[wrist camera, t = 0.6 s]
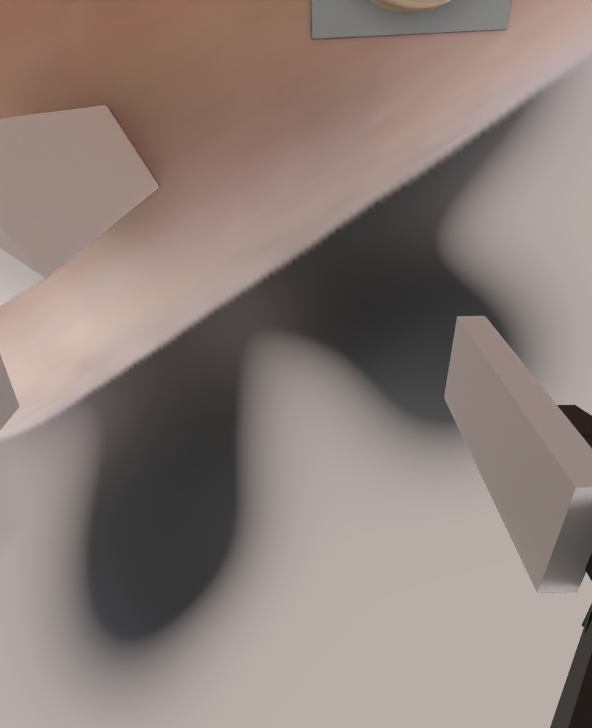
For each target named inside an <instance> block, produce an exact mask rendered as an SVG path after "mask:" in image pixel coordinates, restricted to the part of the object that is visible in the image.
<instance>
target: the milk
mask: <svg viewBox="0 0 592 728" xmlns="http://www.w3.org/2000/svg"><path fill="white" fill-rule="evenodd" d="M158 188H159V185H158V184H157V182H156V181H155V179H154V178H153V176H152V175H151V173H150V171H149V170H148V168H147V167H146V165H145V164H144V162H143V161H142V159H141V158H140V156H139V155H138V153H137V152H136V150H135V148H134V147H133V145H132V144H131V142H130V141H129V139H128V138H127V136H126V135H125V133H124V132H123V130H122V128H121V127H120V125H119V124H118V122H117V121H116V119H115V118H114V116H113V115H112V113H111V112H110V110H109V108H108V107H107V106H106V105H101V106H93V107H85V108H78V109H70V110H62V111H54V112H46V113H38V114H30V115H23V116H15V117H7V118H0V306H2V305H3V304H5V303H7V302H8V301H10V300H12V299H13V298H15V297H17V296H18V295H20V294H22V293H23V292H25V291H27V290H28V289H30V288H32V287H33V286H35V285H37V284H38V283H40V282H42V281H43V280H45V279H46V278H48V277H49V276H50V275H51V274H53V273H54V272H55V271H56V270H58V269H59V268H60V267H61V266H62V265H64V264H65V263H66V262H67V261H69V260H70V259H71V258H72V257H74V256H75V255H76V254H77V253H79V252H80V251H81V250H82V249H84V248H85V247H86V246H87V245H89V244H90V243H91V242H92V241H94V240H95V239H96V238H97V237H98V236H100V235H101V234H102V233H103V232H105V231H106V230H107V229H108V228H110V227H111V226H112V225H113V224H115V223H116V222H117V221H118V220H120V219H121V218H122V217H123V216H125V215H126V214H127V213H128V212H130V211H131V210H132V209H133V208H134V207H136V206H137V205H138V204H139V203H141V202H142V201H143V200H144V199H146V198H147V197H148V196H149V195H151V194H152V193H153V192H154V191H156V190H157V189H158Z"/></svg>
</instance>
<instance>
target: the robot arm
mask: <svg viewBox="0 0 592 728" xmlns="http://www.w3.org/2000/svg"><path fill="white" fill-rule="evenodd" d="M444 398H445V400H446V402H447V405H448V407H449V409H450V411H451V413H452V415H453V417H454V419H455V421H456V423H457V426H458V428H459V430H460V432H461V434H462V436H463V438H464V440H465V443H466V445H467V447H468V449H469V451H470V453H471V455H472V457H473V459H474V461H475V463H476V466H477V468H478V470H479V472H480V474H481V476H482V478H483V480H484V482H485V484H486V487H487V488H488V491H489V493H490V495H491V497H492V499H493V501H494V503H495V505H496V508H497V510H498V512H499V514H500V516H501V518H502V520H503V522H504V524H505V526H506V528H507V530H508V533H509V535H510V537H511V539H512V541H513V543H514V545H515V547H516V549H517V552H518V554H519V556H520V558H521V560H522V562H523V564H524V566H525V568H526V570H527V572H528V574H529V577H530V579H531V581H532V583H533V585H534V587H535V589H536V591H537V593H563V592H564V593H566V592H578V589H579V587H580V585H581V582H582V580H583V578H584V575H585V573H586V572H587V574H588V575H589V577H590V579H591V580H592V416H591V415H590V414H588V413H587V412H585V411H583V410H582V409H580V408H579V407H577V406H576V405H556V403H555V402H554V401H553V400H552V399H551V397H550V396H549V395H548V394H547V392H546V391H545V390H544V389H543V387H542V386H541V385H540V384H539V382H538V381H537V380H536V379H535V377H534V376H533V375H532V374H531V373H530V371H529V370H528V369H527V368H526V366H525V365H524V364H523V363H522V361H521V360H520V359H519V358H518V356H517V355H516V354H515V353H514V351H513V350H512V349H511V348H510V347H509V345H508V344H507V343H506V342H505V340H504V339H503V338H502V337H501V335H500V334H499V333H498V332H497V330H496V329H495V328H494V327H493V326H492V324H491V323H490V322H489V321H488V319H487V318H486V317H485V316H458V317H457V322H456V328H455V335H454V340H453V347H452V353H451V359H450V365H449V371H448V377H447V384H446V390H445V396H444ZM18 408H19V404H18V401H17V399H16V396H15V393H14V391H13V388H12V385H11V382H10V380H9V377H8V374H7V372H6V369H5V366H4V364H3V361H2V358H1V355H0V430H1V429H2V427H3V426H4V425H5V424H6V423H7V421H8V420H9V419H10V418H11V416H12V415H13V414H14V413H15V412H16V410H17V409H18ZM582 626H583V627H584V629H583V632H582V635H581V638H580V641H579V644H578V647H577V650H576V653H575V656H574V659H573V662H572V665H571V668H570V671H569V674H568V677H567V679H566V682H565V685H564V688H563V691H562V695H561V697H560V700H559V703H558V706H557V709H556V712H555V715H554V718H553V721H552V724H551V727H550V728H592V604H591V606H590V608H589V611H588V613H587V615H586V617H585V619H584V621H583V623H582Z"/></svg>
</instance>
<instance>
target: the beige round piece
mask: <svg viewBox="0 0 592 728" xmlns="http://www.w3.org/2000/svg"><path fill="white" fill-rule="evenodd" d="M367 1H369V2H370V3H372V4H373V5H375V6H377V7H379V8H381V9H384V10H386V11H389V12H394V13H399V14H415V13H422V12H426V11H429V10H433V9H435V8H437V7H439V6H441V5H444V4H446V3H448V2H450V1H452V0H367Z"/></svg>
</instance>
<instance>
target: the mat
mask: <svg viewBox="0 0 592 728" xmlns="http://www.w3.org/2000/svg"><path fill="white" fill-rule="evenodd" d="M511 1H512V0H452V1H450V2H448V3H446V4H444V5H441V6H439V7H437V8H435V9H433V10H429V11H426V12H422V13H415V14H399V13H394V12H389V11H386V10H384V9H381V8H379V7H377V6H375V5H373V4H372V3H370V2H369V1H367V0H311V17H312V39H325V38H345V37H366V36H386V35H407V34H427V33H448V32H468V31H488V30H506V29H508V22H509V15H510V8H511Z"/></svg>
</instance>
